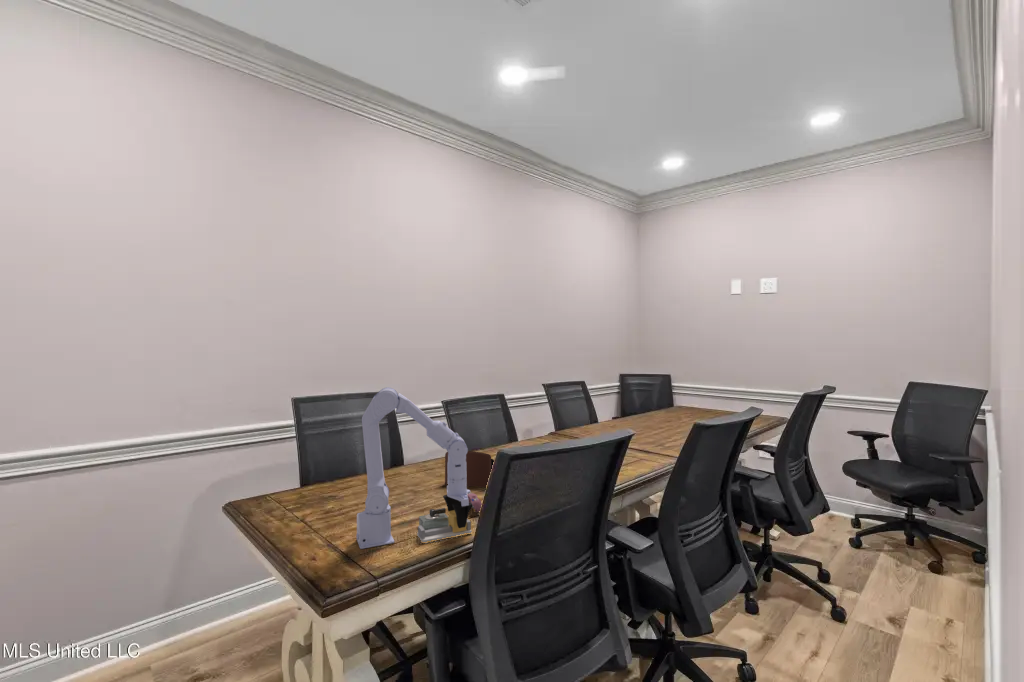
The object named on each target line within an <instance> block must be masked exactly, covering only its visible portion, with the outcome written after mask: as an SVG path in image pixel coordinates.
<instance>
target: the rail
mask: <svg viewBox="0 0 1024 682" xmlns="http://www.w3.org/2000/svg"><path fill="white" fill-rule="evenodd" d="M471 524H472V523H471V520H470V519H469V518H467V527H466V530H465V531H460V532H454V533H453V532H452V526H446V527H441V528H435V529H430V530H424V528H423V527H422V526H421V525H420V526H419V525H418V526H417V534H416V536H418V537H419V538H420V540H421V541H422V542H427V541H431V540H437V539H442V538H446V537H451V536H456V535H460V534H464V533H471V532H472V533H473V530H472V529H471V528H472V526H471ZM418 537H417V538H418ZM419 538H418V539H419ZM420 540H419V541H420ZM421 541H420V542H421Z"/></svg>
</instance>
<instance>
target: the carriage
mask: <svg viewBox="0 0 1024 682" xmlns="http://www.w3.org/2000/svg"><path fill="white" fill-rule="evenodd" d="M447 513H448V515H447V516H448V523H449V526H452V532H453V533H454V532H460V531H465V530H466V527H467V522H466V526H465V527H463V528H458V525H457V518H456V513H455V510H453V511H448V510H447Z"/></svg>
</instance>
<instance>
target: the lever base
mask: <svg viewBox="0 0 1024 682" xmlns="http://www.w3.org/2000/svg"><path fill="white" fill-rule="evenodd" d="M420 525H421V526H422V527H423V528H424V530H430V529H435V528H441V527H446V526H449V523H448V515H447V514H446V513H442V514H436V515H434V516H430V513H429V514H425V515H420V516H418V526H420Z"/></svg>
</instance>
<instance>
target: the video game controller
mask: <svg viewBox="0 0 1024 682" xmlns="http://www.w3.org/2000/svg"><path fill="white" fill-rule="evenodd" d="M467 497H468V499H469V503H470V502H471V503H472V508H471V509H472V510H473V511H474V512H475V513H478V512H479V511H480V508H481V505H482V504H483V503H482V500H481V499H479V498H478V495H477V494H476V493H474V492H471V491H470V493H469V494H467ZM479 513H480V512H479Z"/></svg>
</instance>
